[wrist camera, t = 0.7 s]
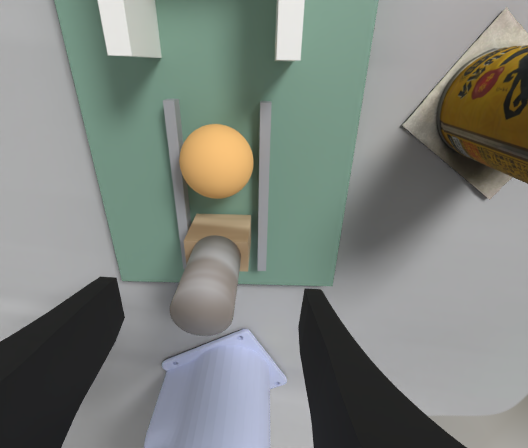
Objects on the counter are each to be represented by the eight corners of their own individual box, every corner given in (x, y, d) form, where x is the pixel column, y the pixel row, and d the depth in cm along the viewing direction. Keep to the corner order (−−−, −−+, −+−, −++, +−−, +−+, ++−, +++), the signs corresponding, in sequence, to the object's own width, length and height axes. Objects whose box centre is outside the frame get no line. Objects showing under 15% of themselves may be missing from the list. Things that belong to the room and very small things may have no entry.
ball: (212, 194, 20) (200, 222, 16) (175, 139, 18) (153, 157, 15) (266, 165, 19) (266, 189, 15) (232, 105, 17) (223, 115, 14)
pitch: (329, 276, 24) (335, 295, 22) (128, 271, 24) (116, 289, 22) (398, -174, 13) (421, -215, 11) (25, -184, 13) (-17, -227, 11)
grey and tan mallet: (250, 245, 21) (242, 337, 14) (199, 244, 21) (164, 335, 14) (251, 209, 20) (241, 289, 13) (196, 208, 20) (156, 287, 13)
